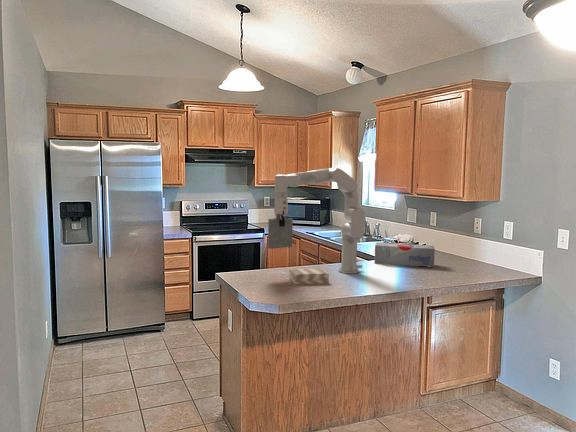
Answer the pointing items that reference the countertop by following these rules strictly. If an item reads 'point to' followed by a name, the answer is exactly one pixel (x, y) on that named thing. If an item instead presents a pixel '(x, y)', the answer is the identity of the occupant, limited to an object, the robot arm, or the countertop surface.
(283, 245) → the hip flask
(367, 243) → the countertop surface
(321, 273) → the chevron striped box
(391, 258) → the soda pack
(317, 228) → the countertop surface
